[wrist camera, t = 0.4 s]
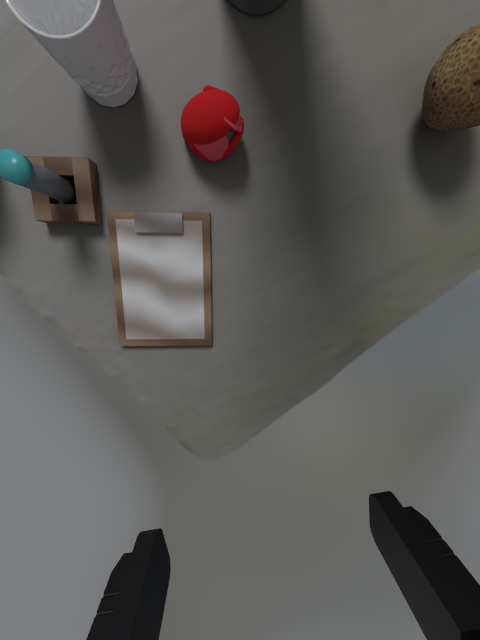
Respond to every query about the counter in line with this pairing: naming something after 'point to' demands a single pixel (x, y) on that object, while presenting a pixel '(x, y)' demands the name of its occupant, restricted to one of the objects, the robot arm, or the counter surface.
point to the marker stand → (85, 189)
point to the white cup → (84, 44)
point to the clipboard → (161, 277)
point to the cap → (212, 124)
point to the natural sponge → (455, 85)
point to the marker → (35, 176)
